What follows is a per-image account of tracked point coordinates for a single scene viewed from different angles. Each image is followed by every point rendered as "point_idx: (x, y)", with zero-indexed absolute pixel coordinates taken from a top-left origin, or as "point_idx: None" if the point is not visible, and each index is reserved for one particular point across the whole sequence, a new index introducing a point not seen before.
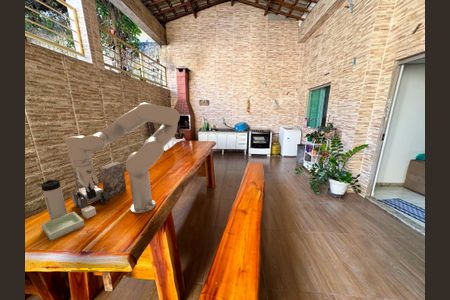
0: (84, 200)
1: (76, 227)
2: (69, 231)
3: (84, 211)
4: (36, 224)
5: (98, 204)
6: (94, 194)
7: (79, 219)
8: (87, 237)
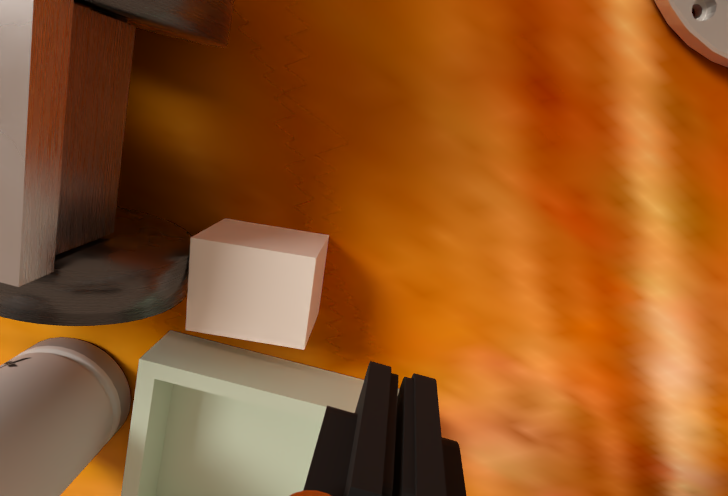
0: (107, 293)
1: None
2: None
3: (266, 339)
4: None
5: None
6: (461, 463)
7: None
8: (591, 480)
